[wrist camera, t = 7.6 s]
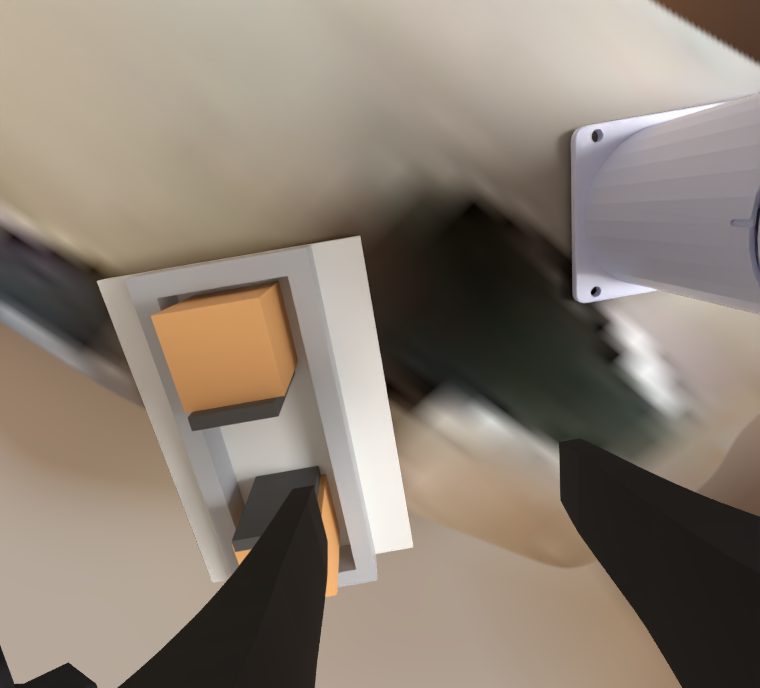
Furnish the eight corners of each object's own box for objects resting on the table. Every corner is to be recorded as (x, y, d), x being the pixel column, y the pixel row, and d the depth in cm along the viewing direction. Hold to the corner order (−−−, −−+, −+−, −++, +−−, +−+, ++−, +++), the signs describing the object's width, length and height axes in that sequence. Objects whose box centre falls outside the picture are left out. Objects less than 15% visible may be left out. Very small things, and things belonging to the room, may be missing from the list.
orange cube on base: (278, 280, 18) (255, 300, 14) (300, 372, 20) (285, 415, 16) (193, 295, 18) (143, 319, 14) (221, 385, 20) (184, 432, 15)
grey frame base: (360, 235, 19) (361, 242, 14) (411, 536, 24) (426, 620, 19) (107, 278, 19) (15, 301, 14) (216, 571, 24) (180, 664, 19)
